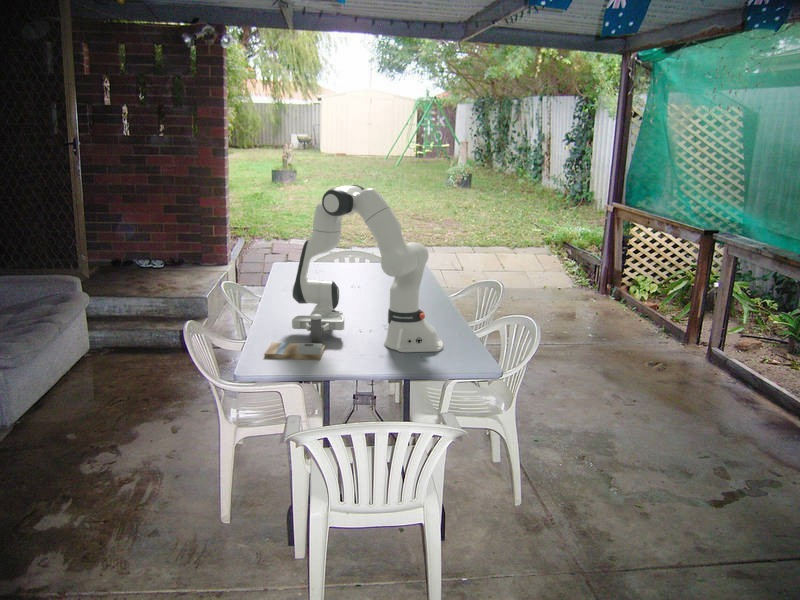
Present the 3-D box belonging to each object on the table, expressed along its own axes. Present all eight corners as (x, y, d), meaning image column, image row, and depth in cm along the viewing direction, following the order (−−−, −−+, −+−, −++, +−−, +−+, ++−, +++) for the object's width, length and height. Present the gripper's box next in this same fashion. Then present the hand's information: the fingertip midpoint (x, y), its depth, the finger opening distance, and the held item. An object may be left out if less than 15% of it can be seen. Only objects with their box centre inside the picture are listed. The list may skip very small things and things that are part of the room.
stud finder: (322, 351, 248) (322, 343, 247) (320, 355, 244) (320, 347, 243) (300, 350, 248) (300, 342, 247) (298, 354, 244) (298, 346, 243)
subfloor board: (325, 348, 256) (325, 344, 255) (320, 359, 243) (320, 355, 243) (272, 346, 256) (271, 342, 256) (264, 357, 244) (264, 353, 243)
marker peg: (322, 341, 261) (322, 314, 258) (321, 345, 257) (320, 317, 254) (311, 341, 261) (311, 313, 258) (310, 345, 257) (309, 317, 254)
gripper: (294, 310, 269) (288, 320, 256) (346, 311, 269) (342, 321, 256) (294, 325, 271) (288, 336, 258) (346, 327, 271) (342, 337, 257)
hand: (315, 328), depth 257 cm, fingers closed on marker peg, 4 cm apart
